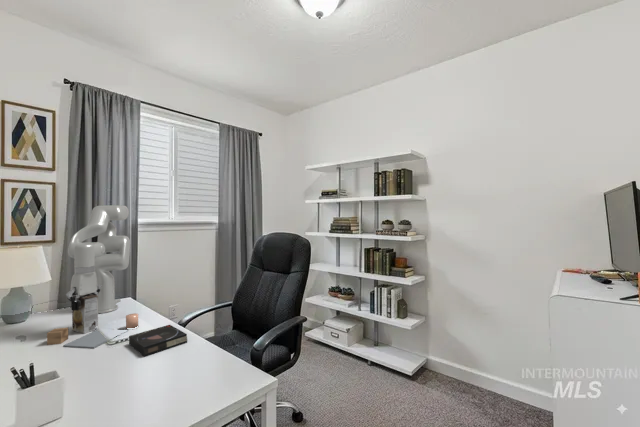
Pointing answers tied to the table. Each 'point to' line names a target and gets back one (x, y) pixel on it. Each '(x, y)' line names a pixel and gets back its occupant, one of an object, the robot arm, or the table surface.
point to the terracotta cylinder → (132, 320)
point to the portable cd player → (157, 340)
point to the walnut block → (57, 336)
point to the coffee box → (85, 314)
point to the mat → (88, 341)
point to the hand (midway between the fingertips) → (84, 306)
